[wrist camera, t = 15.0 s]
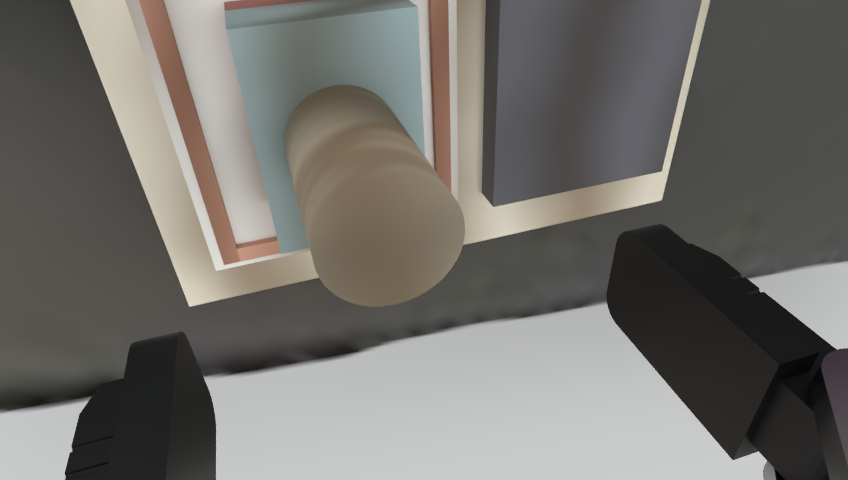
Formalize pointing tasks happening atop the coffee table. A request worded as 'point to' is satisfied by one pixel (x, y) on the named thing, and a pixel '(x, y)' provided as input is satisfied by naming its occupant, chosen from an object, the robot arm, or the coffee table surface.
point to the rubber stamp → (346, 142)
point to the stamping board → (442, 118)
